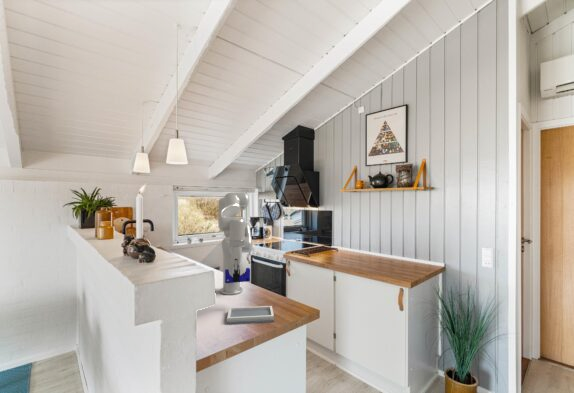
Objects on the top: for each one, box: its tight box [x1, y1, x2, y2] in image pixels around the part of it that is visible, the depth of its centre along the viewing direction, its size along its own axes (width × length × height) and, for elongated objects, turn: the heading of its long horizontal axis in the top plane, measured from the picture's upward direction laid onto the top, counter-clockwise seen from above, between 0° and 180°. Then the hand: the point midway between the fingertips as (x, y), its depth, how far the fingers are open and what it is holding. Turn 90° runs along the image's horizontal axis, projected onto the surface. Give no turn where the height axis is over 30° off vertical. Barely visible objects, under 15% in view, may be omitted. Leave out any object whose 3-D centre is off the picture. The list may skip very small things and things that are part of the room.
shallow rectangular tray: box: [226, 305, 275, 325], centre depth 127 cm, size 14×20×2 cm
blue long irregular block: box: [225, 267, 251, 283], centre depth 140 cm, size 12×4×6 cm, turn 109°
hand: (236, 279), depth 140 cm, fingers closed on blue long irregular block, 5 cm apart
